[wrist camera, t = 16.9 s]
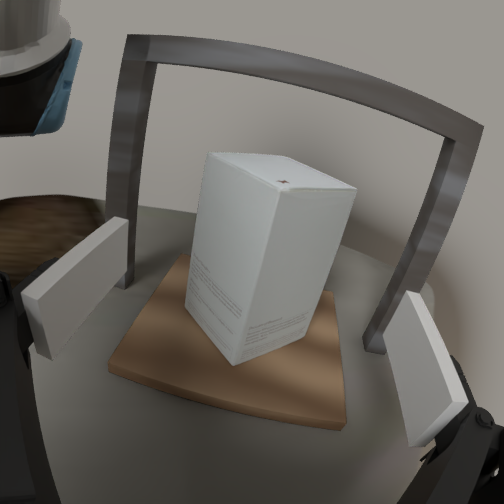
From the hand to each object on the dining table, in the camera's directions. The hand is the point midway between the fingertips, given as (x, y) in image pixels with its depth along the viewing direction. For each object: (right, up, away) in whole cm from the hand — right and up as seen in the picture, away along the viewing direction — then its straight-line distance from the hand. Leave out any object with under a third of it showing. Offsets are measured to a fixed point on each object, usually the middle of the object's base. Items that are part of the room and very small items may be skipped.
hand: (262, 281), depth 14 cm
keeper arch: (-1, -5, +12) cm, 13 cm away
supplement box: (-1, -5, +11) cm, 12 cm away
